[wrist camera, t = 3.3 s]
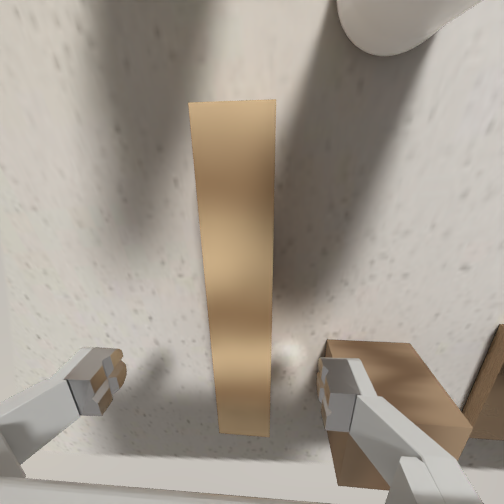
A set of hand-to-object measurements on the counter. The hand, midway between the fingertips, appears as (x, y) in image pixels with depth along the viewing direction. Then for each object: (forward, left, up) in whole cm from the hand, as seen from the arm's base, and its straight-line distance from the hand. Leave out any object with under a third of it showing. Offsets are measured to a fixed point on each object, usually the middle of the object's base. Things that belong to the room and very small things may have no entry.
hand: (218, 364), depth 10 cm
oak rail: (0, 0, -8) cm, 8 cm away
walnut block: (-9, +8, -8) cm, 15 cm away
